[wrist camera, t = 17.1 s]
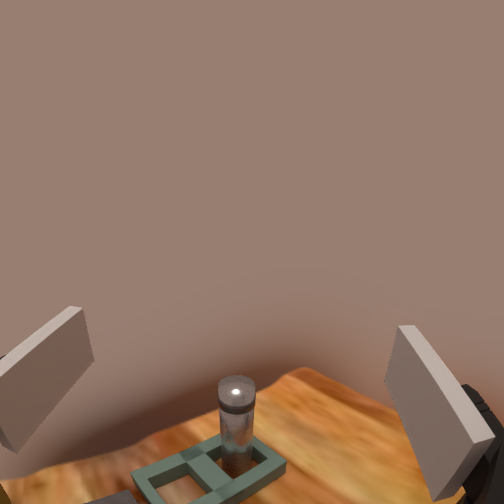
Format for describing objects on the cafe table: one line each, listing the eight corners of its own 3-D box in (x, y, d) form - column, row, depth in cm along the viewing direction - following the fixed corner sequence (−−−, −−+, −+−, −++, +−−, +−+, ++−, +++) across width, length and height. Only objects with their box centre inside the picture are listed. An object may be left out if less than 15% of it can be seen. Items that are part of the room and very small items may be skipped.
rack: (284, 472, 36) (287, 460, 35) (174, 536, 24) (170, 527, 24) (238, 436, 43) (238, 423, 42) (134, 484, 32) (129, 472, 31)
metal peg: (258, 469, 36) (264, 387, 32) (234, 484, 34) (233, 402, 30) (238, 453, 40) (239, 370, 36) (215, 466, 37) (209, 383, 33)
